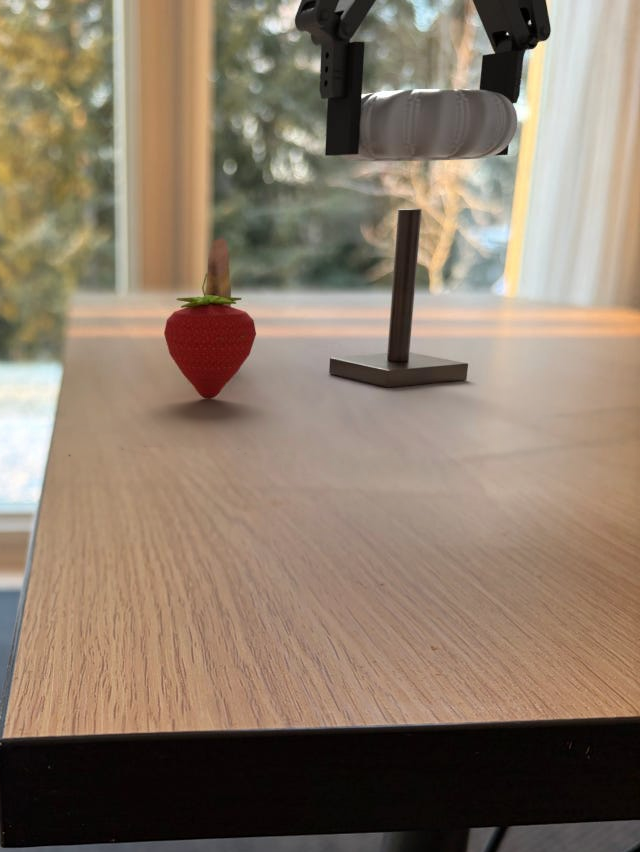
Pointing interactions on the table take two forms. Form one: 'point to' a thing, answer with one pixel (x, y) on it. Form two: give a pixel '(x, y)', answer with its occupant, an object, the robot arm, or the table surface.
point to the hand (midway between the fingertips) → (418, 155)
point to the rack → (401, 327)
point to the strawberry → (209, 341)
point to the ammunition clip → (218, 270)
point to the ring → (434, 125)
